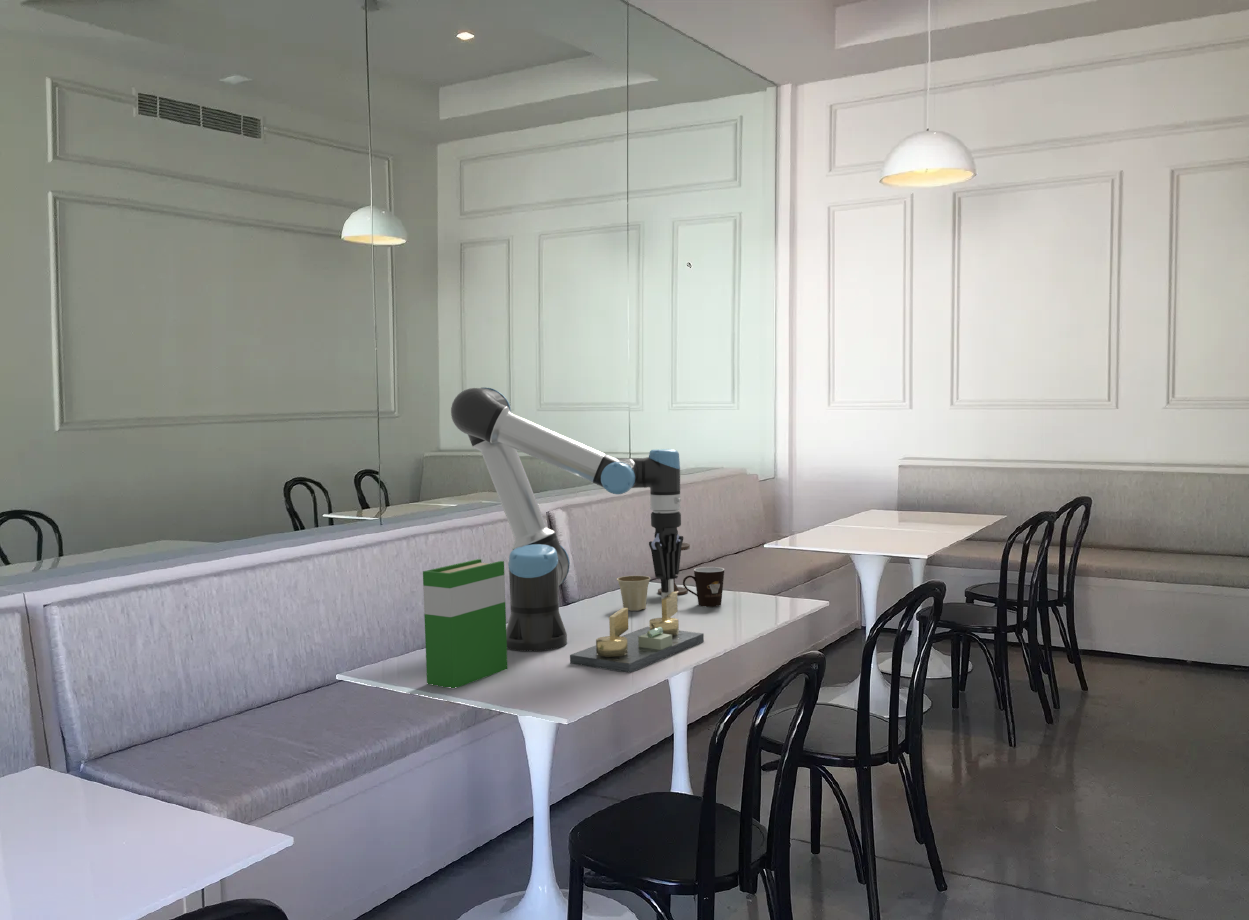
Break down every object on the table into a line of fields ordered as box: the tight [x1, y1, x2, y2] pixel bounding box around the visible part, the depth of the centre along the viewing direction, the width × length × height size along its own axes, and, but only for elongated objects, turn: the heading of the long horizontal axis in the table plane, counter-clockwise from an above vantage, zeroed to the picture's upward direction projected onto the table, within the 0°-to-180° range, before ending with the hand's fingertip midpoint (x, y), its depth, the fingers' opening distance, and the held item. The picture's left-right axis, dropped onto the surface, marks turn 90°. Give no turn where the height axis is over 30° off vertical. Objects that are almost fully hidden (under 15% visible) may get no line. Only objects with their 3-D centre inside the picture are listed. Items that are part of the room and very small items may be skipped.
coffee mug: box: [682, 566, 725, 608], centre depth 297 cm, size 12×9×10 cm
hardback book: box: [422, 558, 508, 689], centre depth 227 cm, size 18×7×24 cm, turn 147°
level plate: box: [569, 626, 705, 674], centre depth 244 cm, size 32×16×6 cm, turn 146°
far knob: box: [648, 592, 680, 636], centre depth 257 cm, size 14×7×8 cm, turn 162°
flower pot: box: [616, 575, 651, 612], centre depth 294 cm, size 9×9×9 cm
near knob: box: [595, 607, 629, 657], centre depth 239 cm, size 14×7×8 cm, turn 162°
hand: (667, 604), depth 264 cm, fingers closed
